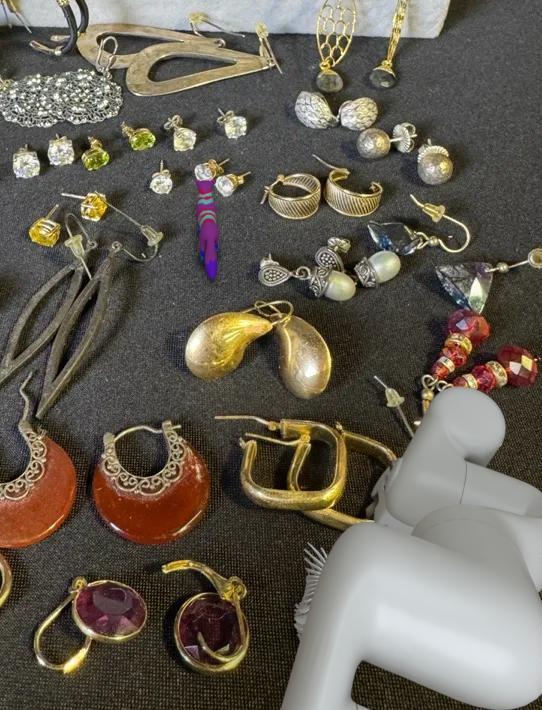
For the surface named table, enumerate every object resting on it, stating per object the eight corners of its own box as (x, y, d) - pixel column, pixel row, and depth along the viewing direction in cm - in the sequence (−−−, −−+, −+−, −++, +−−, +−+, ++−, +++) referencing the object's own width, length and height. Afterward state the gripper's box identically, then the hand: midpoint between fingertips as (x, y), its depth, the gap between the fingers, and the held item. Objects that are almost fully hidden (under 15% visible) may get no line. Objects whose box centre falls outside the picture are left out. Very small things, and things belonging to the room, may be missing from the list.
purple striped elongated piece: (211, 208, 150) (214, 168, 142) (222, 284, 138) (226, 245, 130) (191, 209, 150) (193, 169, 142) (201, 285, 138) (203, 246, 130)
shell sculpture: (352, 661, 100) (382, 617, 86) (285, 656, 100) (305, 611, 86) (346, 591, 105) (374, 540, 92) (283, 587, 105) (301, 535, 92)
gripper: (373, 500, 85) (342, 564, 99) (515, 506, 85) (464, 569, 99) (364, 436, 90) (336, 505, 104) (497, 441, 90) (452, 510, 104)
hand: (398, 536), depth 101 cm, fingers closed
